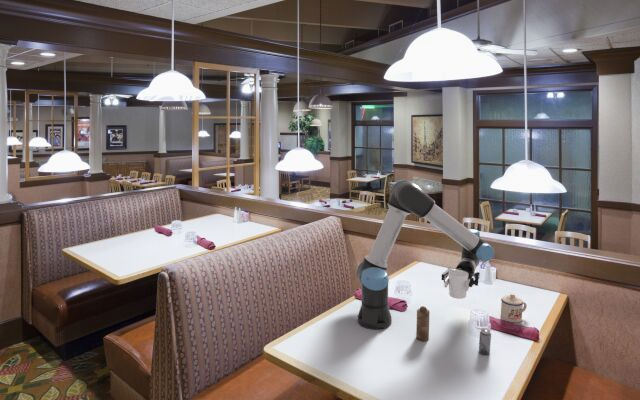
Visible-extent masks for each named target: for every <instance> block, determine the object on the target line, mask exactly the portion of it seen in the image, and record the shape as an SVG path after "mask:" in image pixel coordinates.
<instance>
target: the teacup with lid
mask: <svg viewBox="0 0 640 400" xmlns="http://www.w3.org/2000/svg"><path fill="white" fill-rule="evenodd" d="M500 307H501V308H500V318H501V319H502V320H503V321H505V320H506V321H505V322H507V321H510V322H509V323H512V322H514V324H517V323H520V322H522V318H523V313H524V312H525V311H526V310H527V307H528V306H527V303H525V301H524V300H523V299H522V298H520V297H518V296H516V294H515V293H510V294H509V295H504V296H502V297H501V305H500Z"/></svg>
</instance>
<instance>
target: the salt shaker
mask: <svg viewBox="0 0 640 400" xmlns="http://www.w3.org/2000/svg"><path fill="white" fill-rule="evenodd" d="M491 339H492V333H491V330H490V329H488V328H481V329H480V331H479V341H478V342H479V343H478V353H479V354H480V355H483V356H489V355H490V354H491V353H490V352H491V341H492V340H491Z"/></svg>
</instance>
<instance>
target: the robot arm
mask: <svg viewBox="0 0 640 400" xmlns="http://www.w3.org/2000/svg"><path fill="white" fill-rule="evenodd" d="M387 206H388V209H387V212H386V215H385V218H384V219H383V222H382V224H381V226H380V229H379V232H378V233H377V235H376V238H375V241H374V243H373V245H372V247H371V250H370V252H369V254H366V255H365V256H364V257H363V260H362V261H361V262H360V263H359V264H358V265H357V269H356V277H357V280H358V282H359V285H360V289H361V305H360V308H359V311H358V314H357V324H359V325H360V326H361V327H363V328H365V329H370V330H381V329H382V330H383V329H387V328H388V327H390V326H391V325H392V319H393V317H392V314H391V311H390V308H389V305H388V304H389V303H388V302H389V282H390V281H389V274H388V272H387V270H388V263H387V260H388V258H389V256H390V254H391V253H392V250H393V248H394V247H393V246H394V245H395V242H396V240H397V239H398V236H399V234H400V232H401V229H402V226H403V224H404V223H405V220H406V218H407V216H408V215H411V214H414V215H416V216H417V217H418V218H420V219H424V220H426V221H428V222H429V223H430V224H431V225H433V226H434V227H436V228H437V229H438V230H440V231H441V232H442V233H443V234H444V235H447V236H448V237H449V238H451V239H452V240H453V241H454V242H456V243H457V244H459V245H460V246H461V259H460V261H459V263H458V264H457V266H456V267H455V268H454V269H451V268H450V267H448V268H447V269H446V270H445V271H444V272H443V273H441V280H442V281H443V285H444V286H443V287H444V288H447V287H449V271H451V270H462V271H466V272H467V273H468V274H469V275H468V281H467V283H466V288H465V291H466V292H469V288H472V287H473V286H476V287H478V286H479V279H480V274H481V273H480V272H478V271H477V272H475V271H476V270H477V267H478V266H479V263H480V261H482V262H489V261H491V260H492V259H493V258H494V256H495V249H494V248H493V246H491V245H490V244H489V243H488V242H486V241H484V239H482V238H480V237H481V235H480V233H481V232H480V231H479V230H477V229H473V228H468V227H466V226H464V224H462V223H461V222H459V220H457V219H456V218H454V217H453V216H451V215H450V214H449V213H448V212H447V211H445V210H443V209H442V208H441V207H440V206H438V205H437V204H436V201H435V200H434V199H433V198H432V197H431V196H430V195H428V193H426V192H425V191H424V190H423V189H422V188H421V186H419V185H417V184H415V183H414V182H413V181H411V180H408V179H401V180H398V181H396V182H395V183H393V185H392V187H391V189H390V197H389V199H388V202H387Z"/></svg>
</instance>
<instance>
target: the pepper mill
mask: <svg viewBox="0 0 640 400" xmlns="http://www.w3.org/2000/svg"><path fill="white" fill-rule="evenodd" d="M430 314H431V313H430V310H429V309H427V307H426V306H423V305H422V306H420V307H419V308H417V309H416V332H415V336H416V337H415V338H416V340H417V341H420V342H427V341H429V340H430V339H429V338H430Z"/></svg>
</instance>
